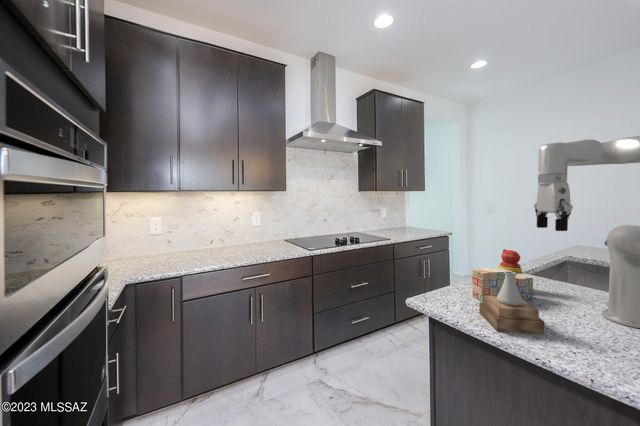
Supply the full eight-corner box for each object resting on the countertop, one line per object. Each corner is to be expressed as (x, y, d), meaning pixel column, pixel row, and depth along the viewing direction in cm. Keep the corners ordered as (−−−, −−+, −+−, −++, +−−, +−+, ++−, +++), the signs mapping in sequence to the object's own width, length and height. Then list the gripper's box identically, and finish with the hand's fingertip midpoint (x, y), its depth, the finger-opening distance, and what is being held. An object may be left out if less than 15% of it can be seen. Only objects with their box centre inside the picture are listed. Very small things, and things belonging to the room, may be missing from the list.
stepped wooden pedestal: (519, 315, 92) (520, 295, 91) (544, 334, 79) (544, 311, 78) (479, 313, 94) (479, 294, 94) (496, 331, 81) (496, 309, 81)
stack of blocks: (520, 294, 111) (520, 266, 110) (533, 300, 104) (533, 270, 104) (472, 297, 110) (472, 268, 109) (482, 303, 103) (482, 272, 103)
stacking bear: (531, 291, 113) (531, 251, 113) (512, 294, 111) (513, 253, 110) (508, 284, 124) (508, 247, 123) (490, 286, 122) (491, 248, 121)
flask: (529, 306, 82) (530, 275, 82) (506, 307, 82) (506, 276, 82) (512, 297, 90) (513, 269, 89) (491, 298, 90) (491, 269, 89)
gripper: (585, 177, 80) (583, 232, 81) (547, 181, 97) (546, 226, 98) (557, 178, 82) (556, 232, 83) (525, 181, 99) (524, 226, 100)
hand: (551, 229), depth 90 cm, fingers open, 9 cm apart
